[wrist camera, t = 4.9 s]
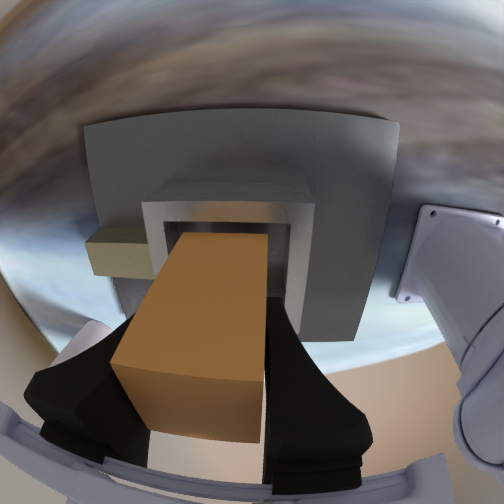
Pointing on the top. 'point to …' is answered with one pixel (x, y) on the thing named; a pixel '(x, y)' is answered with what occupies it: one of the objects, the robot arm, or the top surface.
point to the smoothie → (83, 340)
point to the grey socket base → (248, 201)
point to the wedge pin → (201, 340)
